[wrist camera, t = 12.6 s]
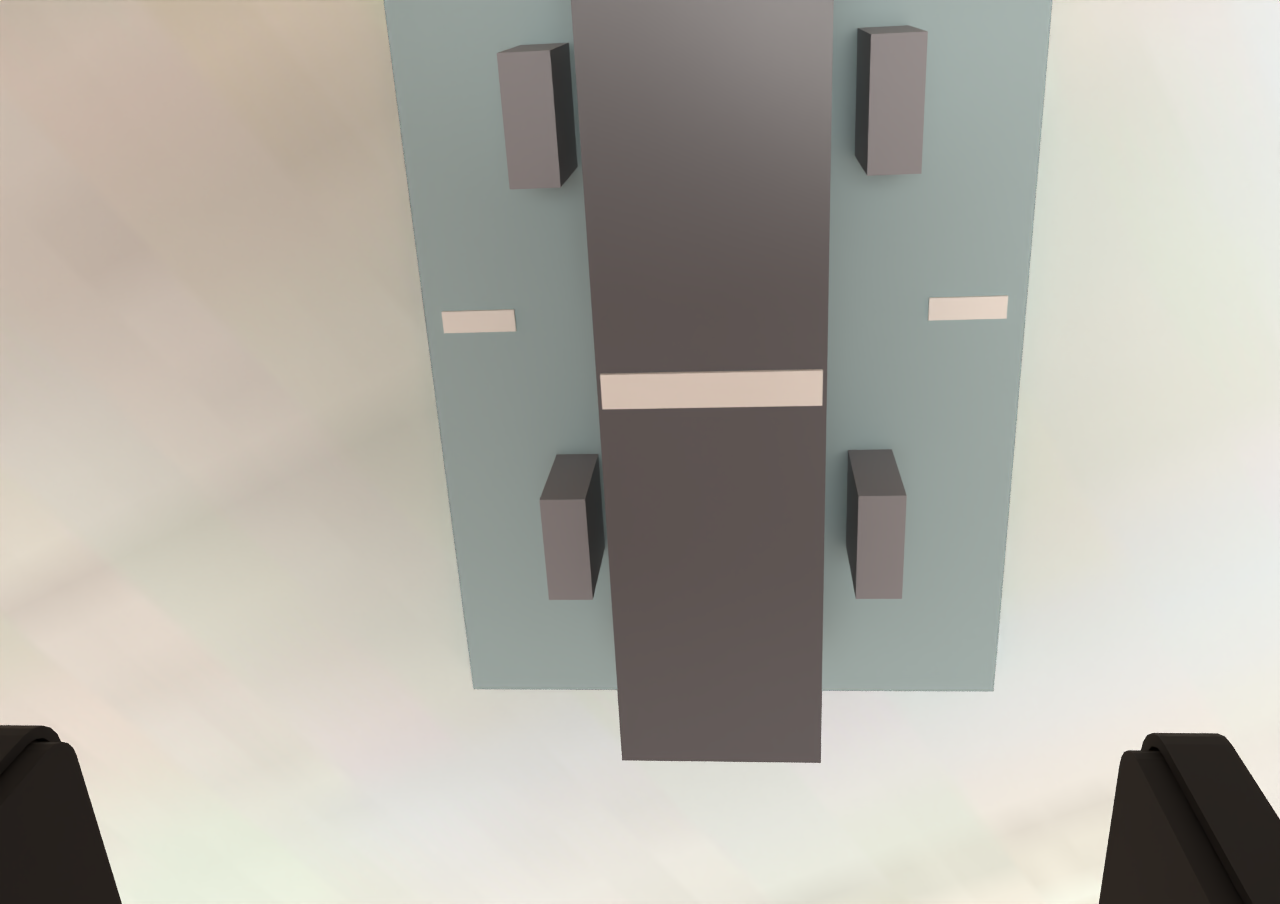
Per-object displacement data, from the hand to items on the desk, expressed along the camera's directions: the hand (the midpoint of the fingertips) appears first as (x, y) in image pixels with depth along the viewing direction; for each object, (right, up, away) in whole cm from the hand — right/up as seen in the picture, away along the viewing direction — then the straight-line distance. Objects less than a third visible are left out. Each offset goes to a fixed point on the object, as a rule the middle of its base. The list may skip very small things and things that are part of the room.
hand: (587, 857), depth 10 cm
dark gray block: (+2, +7, +20) cm, 21 cm away
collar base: (+3, +8, +21) cm, 22 cm away
